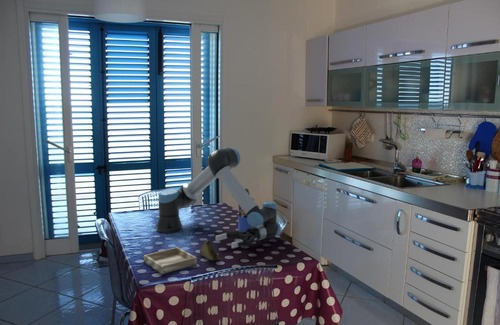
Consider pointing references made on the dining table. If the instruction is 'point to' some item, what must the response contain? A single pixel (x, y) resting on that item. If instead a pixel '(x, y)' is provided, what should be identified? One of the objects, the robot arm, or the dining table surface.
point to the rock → (208, 251)
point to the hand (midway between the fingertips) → (223, 241)
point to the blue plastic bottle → (243, 218)
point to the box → (170, 260)
